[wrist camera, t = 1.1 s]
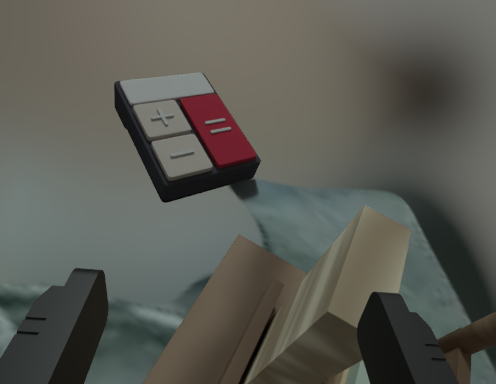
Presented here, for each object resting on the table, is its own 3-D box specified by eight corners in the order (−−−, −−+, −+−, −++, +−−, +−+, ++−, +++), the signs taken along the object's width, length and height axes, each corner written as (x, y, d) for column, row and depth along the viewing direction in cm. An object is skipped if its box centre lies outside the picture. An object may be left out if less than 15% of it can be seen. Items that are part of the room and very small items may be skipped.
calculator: (166, 182, 33) (113, 75, 39) (161, 208, 37) (113, 105, 43) (264, 157, 39) (204, 66, 45) (253, 181, 42) (198, 93, 48)
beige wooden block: (233, 396, 25) (327, 311, 13) (267, 322, 29) (364, 204, 17) (263, 416, 25) (387, 345, 13) (294, 338, 29) (411, 230, 17)
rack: (105, 444, 23) (88, 407, 13) (235, 242, 35) (278, 140, 25) (399, 645, 21) (654, 790, 11) (432, 357, 33) (569, 296, 22)
